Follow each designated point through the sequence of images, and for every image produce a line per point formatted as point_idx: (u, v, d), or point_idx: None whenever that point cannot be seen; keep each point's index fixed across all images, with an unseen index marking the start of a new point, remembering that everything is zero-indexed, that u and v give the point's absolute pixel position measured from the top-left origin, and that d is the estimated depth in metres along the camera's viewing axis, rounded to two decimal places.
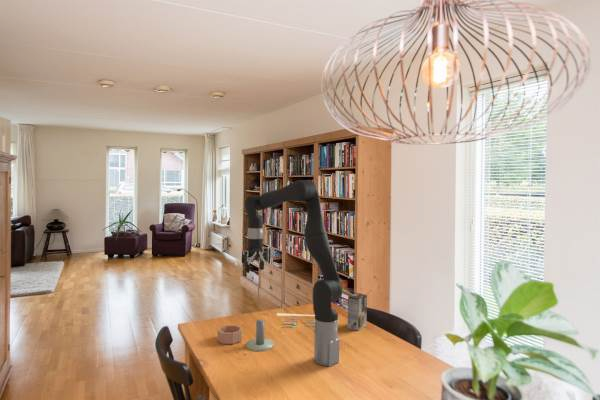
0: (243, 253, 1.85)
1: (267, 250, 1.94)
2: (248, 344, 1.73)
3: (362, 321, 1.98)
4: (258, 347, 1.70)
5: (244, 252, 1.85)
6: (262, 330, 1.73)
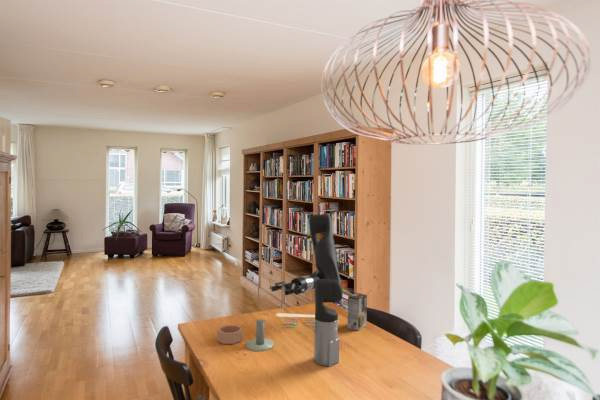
0: None
1: (303, 287, 1.84)
2: (248, 344, 1.73)
3: (362, 321, 1.98)
4: (258, 347, 1.70)
5: None
6: (262, 330, 1.73)
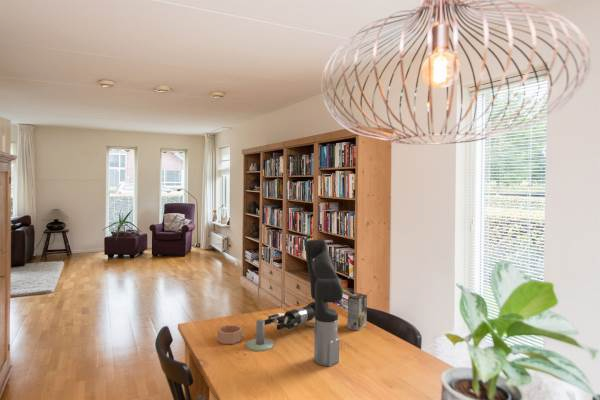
0: None
1: (296, 321, 1.81)
2: (248, 344, 1.73)
3: (362, 321, 1.98)
4: (258, 347, 1.70)
5: None
6: (262, 330, 1.73)
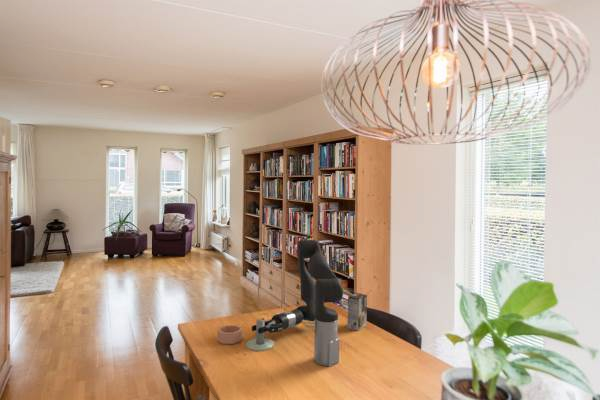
0: None
1: (280, 326, 1.74)
2: (248, 344, 1.73)
3: (362, 321, 1.98)
4: (258, 347, 1.70)
5: None
6: None
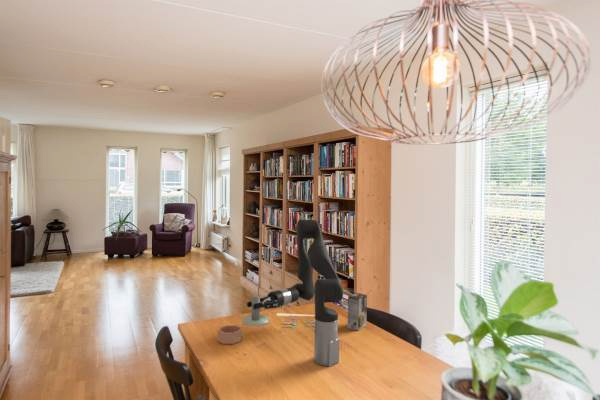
0: None
1: (275, 302, 1.75)
2: (244, 320, 1.74)
3: (362, 321, 1.98)
4: (254, 322, 1.71)
5: None
6: None
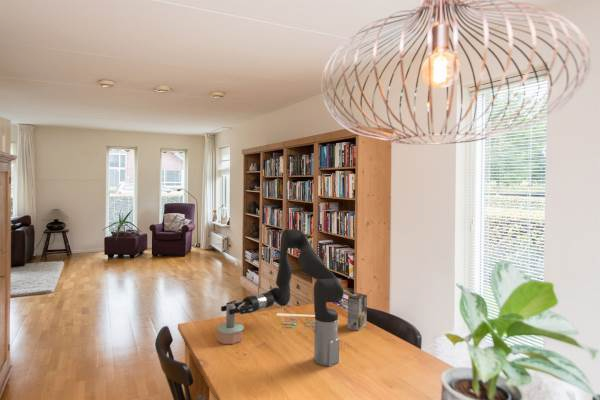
0: None
1: (250, 307, 1.80)
2: (218, 327, 1.79)
3: (362, 321, 1.98)
4: (228, 330, 1.76)
5: None
6: (232, 314, 1.79)
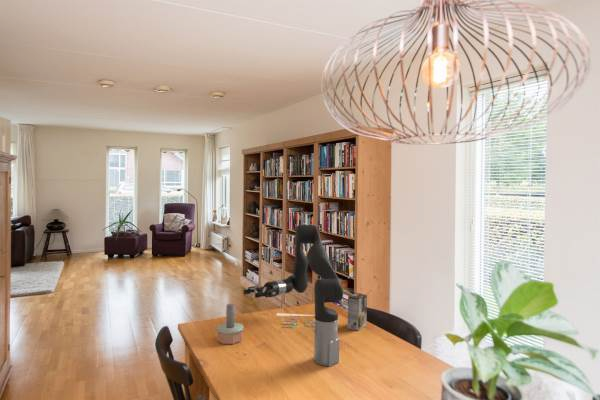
0: None
1: (274, 290, 1.89)
2: (218, 327, 1.79)
3: (362, 321, 1.98)
4: (228, 330, 1.76)
5: None
6: (232, 314, 1.79)
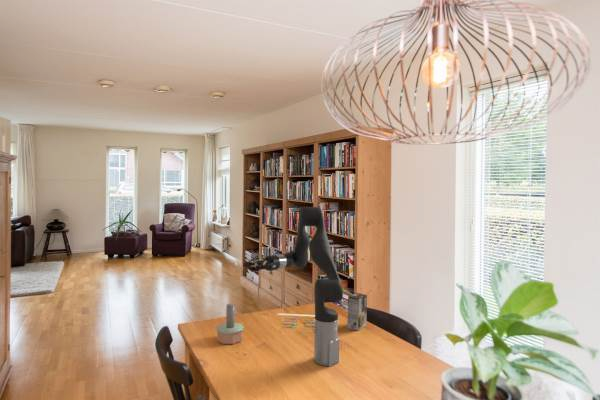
0: None
1: (274, 263, 1.89)
2: (218, 327, 1.79)
3: (362, 321, 1.98)
4: (228, 330, 1.76)
5: None
6: (232, 314, 1.79)
